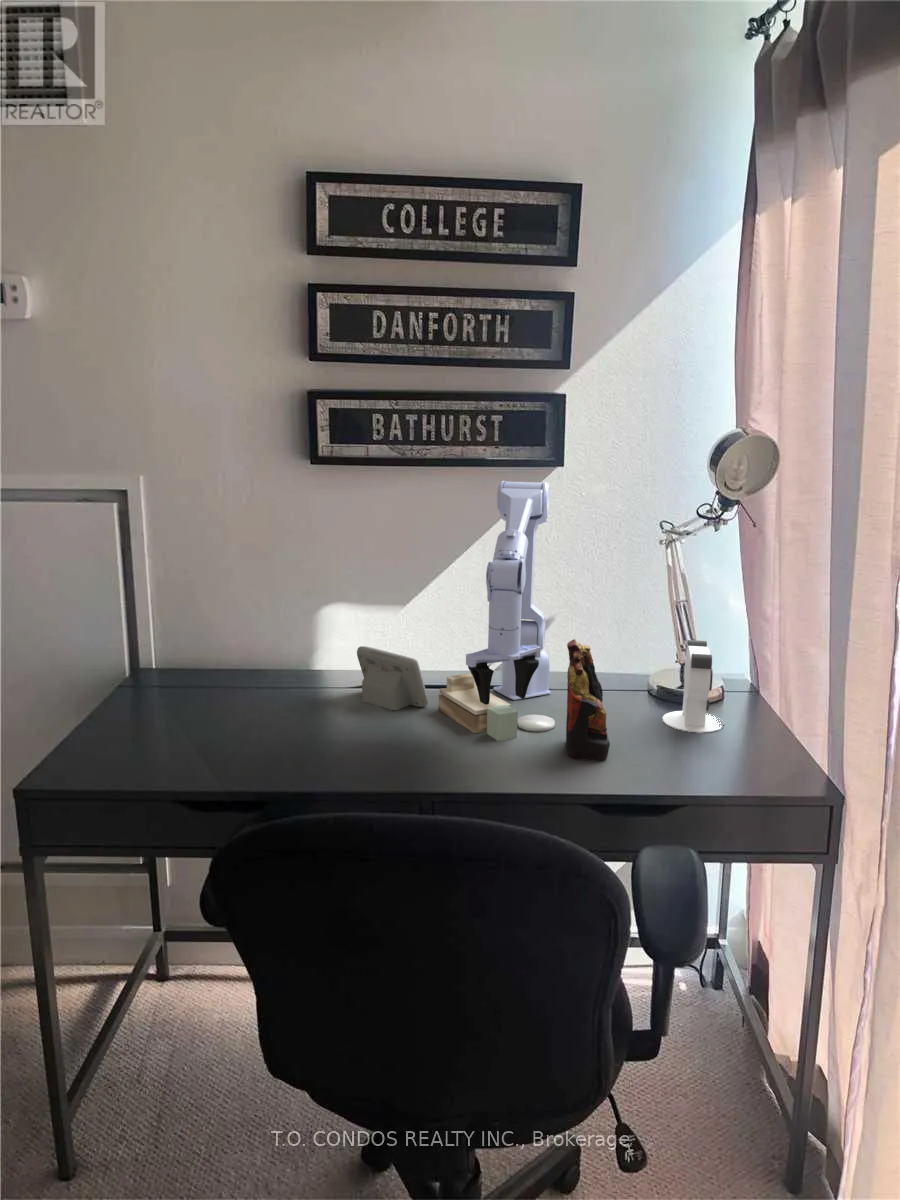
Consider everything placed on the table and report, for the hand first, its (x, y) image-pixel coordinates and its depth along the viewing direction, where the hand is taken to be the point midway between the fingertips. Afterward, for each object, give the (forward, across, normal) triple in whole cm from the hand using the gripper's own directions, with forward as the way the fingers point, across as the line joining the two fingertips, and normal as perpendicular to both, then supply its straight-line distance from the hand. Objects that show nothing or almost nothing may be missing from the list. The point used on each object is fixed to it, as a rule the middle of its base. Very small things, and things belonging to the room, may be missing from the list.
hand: (502, 699), depth 162 cm
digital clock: (+7, -10, +26) cm, 29 cm away
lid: (+3, 0, +10) cm, 11 cm away
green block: (+7, 0, 0) cm, 7 cm away
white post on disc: (+7, +36, -11) cm, 38 cm away
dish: (+7, +9, +2) cm, 11 cm away
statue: (+7, +10, -12) cm, 17 cm away
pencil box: (+7, 0, +10) cm, 12 cm away
